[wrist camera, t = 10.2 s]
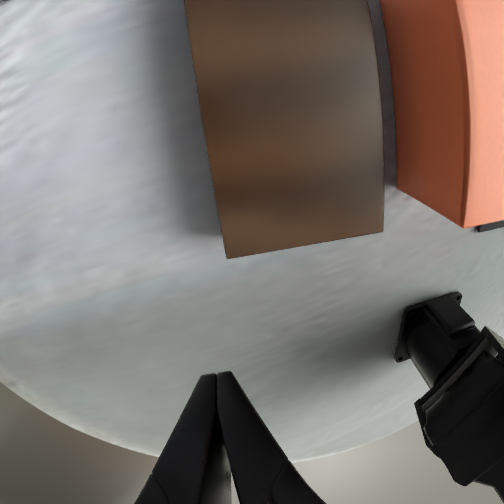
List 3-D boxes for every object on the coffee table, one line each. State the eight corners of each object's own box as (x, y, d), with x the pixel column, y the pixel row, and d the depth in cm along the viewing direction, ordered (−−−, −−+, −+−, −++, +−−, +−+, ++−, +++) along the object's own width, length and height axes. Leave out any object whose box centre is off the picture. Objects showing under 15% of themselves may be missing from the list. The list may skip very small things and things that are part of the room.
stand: (362, 214, 20) (383, 232, 17) (224, 237, 19) (226, 259, 17) (337, -28, 13) (357, -44, 10) (183, -21, 12) (178, -42, 9)
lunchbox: (396, 188, 19) (450, 182, 19) (463, 229, 13) (517, 217, 13) (378, -3, 13) (438, 9, 14) (446, -33, 7) (509, -5, 7)
